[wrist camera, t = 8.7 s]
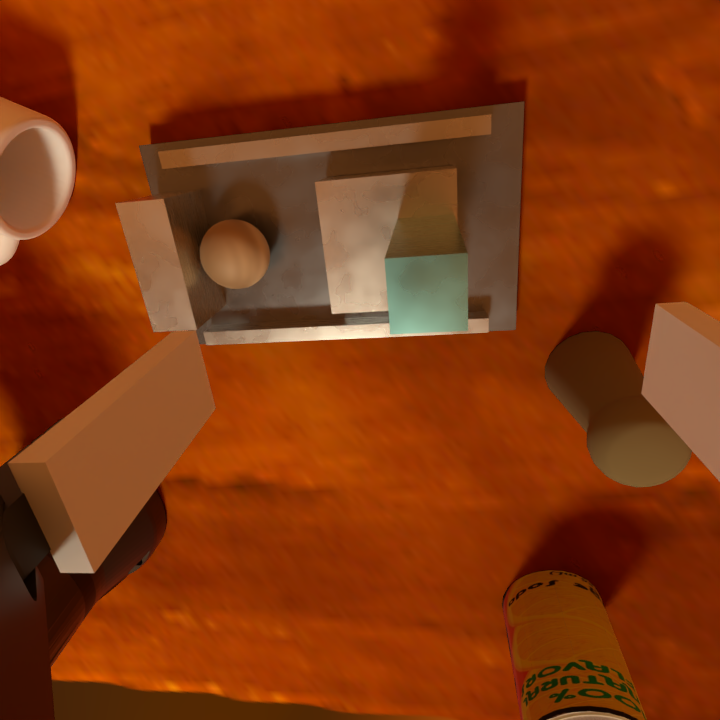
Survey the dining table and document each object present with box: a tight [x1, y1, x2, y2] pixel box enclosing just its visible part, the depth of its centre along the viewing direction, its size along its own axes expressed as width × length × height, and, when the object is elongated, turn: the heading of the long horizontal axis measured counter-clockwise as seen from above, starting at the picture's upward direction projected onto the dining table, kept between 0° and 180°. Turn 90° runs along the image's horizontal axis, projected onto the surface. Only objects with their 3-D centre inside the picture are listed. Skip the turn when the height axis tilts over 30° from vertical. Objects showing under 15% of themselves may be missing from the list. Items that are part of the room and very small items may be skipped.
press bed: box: [115, 102, 524, 345], centre depth 31 cm, size 24×14×6 cm, turn 95°
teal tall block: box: [315, 165, 468, 334], centre depth 25 cm, size 8×8×13 cm
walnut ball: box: [200, 219, 270, 289], centre depth 31 cm, size 4×4×4 cm
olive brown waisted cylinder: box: [545, 331, 692, 487], centre depth 30 cm, size 6×6×11 cm
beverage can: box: [502, 570, 647, 720], centre depth 40 cm, size 9×9×12 cm
